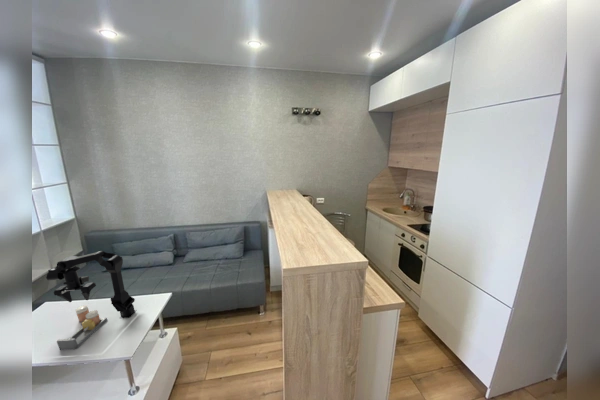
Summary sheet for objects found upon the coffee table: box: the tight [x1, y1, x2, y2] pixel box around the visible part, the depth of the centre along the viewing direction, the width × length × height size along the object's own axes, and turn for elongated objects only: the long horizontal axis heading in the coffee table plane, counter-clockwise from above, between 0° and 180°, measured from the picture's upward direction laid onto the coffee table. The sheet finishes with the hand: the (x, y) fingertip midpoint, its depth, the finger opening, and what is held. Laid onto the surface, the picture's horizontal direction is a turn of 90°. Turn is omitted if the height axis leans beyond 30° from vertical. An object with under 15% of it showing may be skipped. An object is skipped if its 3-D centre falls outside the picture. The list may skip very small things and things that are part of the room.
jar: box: [75, 304, 90, 323], centre depth 136 cm, size 5×5×8 cm
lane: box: [56, 317, 108, 351], centre depth 125 cm, size 20×8×6 cm, turn 2°
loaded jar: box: [86, 309, 101, 326], centre depth 131 cm, size 5×5×8 cm
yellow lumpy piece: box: [81, 320, 96, 331], centre depth 127 cm, size 4×6×6 cm, turn 92°
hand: (79, 300), depth 134 cm, fingers open, 9 cm apart
